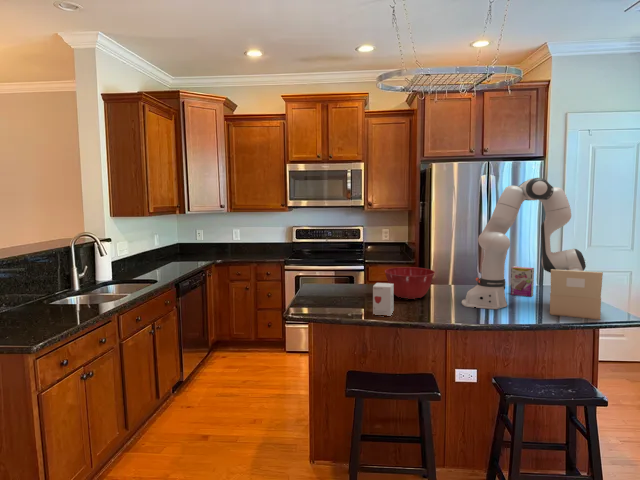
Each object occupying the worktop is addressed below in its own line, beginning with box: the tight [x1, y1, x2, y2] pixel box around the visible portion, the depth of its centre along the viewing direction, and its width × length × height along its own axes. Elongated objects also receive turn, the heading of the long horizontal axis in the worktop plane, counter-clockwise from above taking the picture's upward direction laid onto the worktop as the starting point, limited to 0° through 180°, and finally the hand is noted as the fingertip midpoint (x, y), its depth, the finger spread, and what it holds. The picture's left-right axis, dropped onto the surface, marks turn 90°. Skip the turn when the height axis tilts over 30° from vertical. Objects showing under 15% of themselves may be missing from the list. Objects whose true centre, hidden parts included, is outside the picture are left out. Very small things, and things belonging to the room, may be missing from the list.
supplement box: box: [372, 282, 395, 317], centre depth 203 cm, size 9×9×15 cm
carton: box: [549, 292, 602, 321], centre depth 197 cm, size 16×20×10 cm
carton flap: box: [550, 269, 604, 300], centre depth 186 cm, size 15×20×1 cm
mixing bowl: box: [384, 266, 435, 300], centre depth 238 cm, size 28×28×15 cm
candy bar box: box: [510, 265, 535, 298], centre depth 235 cm, size 11×5×16 cm, turn 50°
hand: (576, 285), depth 187 cm, fingers closed, pressing on carton flap
